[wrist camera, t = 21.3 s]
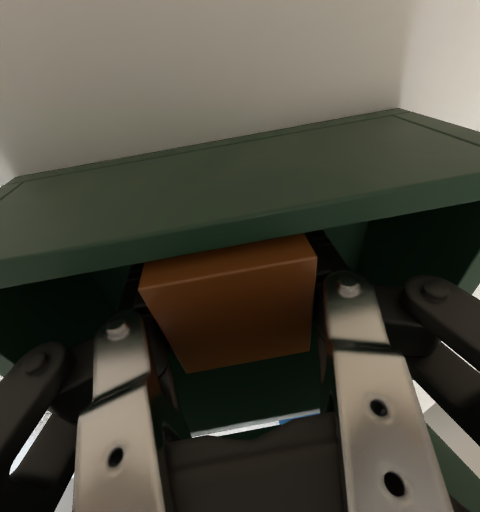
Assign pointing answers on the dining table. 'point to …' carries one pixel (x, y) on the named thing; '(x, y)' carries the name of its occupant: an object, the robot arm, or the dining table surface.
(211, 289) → the block
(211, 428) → the green storage bin
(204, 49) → the dining table surface
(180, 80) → the dining table surface
